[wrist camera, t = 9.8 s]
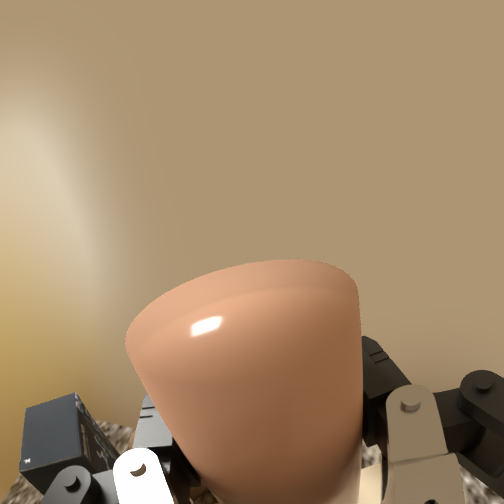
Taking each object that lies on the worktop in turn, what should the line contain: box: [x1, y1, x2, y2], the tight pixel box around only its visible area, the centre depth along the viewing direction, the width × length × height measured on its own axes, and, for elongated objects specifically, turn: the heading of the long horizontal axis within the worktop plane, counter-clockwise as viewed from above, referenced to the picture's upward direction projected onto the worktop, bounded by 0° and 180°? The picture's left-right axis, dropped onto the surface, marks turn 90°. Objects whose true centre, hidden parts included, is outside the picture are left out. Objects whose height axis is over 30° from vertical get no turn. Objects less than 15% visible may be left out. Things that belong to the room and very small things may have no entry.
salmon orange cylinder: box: [125, 259, 363, 504], centre depth 8 cm, size 5×5×10 cm
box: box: [19, 393, 121, 495], centre depth 17 cm, size 8×6×11 cm
